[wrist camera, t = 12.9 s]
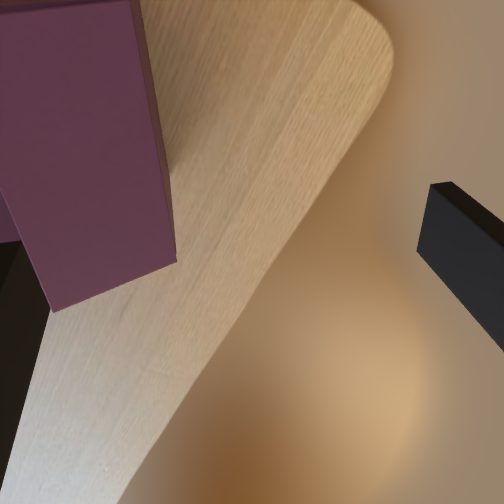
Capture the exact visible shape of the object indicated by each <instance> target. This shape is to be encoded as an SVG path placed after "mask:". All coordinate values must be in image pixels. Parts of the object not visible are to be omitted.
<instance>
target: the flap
mask: <svg viewBox="0 0 504 504" xmlns="http://www.w3.org/2000/svg"><path fill="white" fill-rule="evenodd" d="M0 190H1V192H2V195H3V197H4V199H5V202H6V204H7V206H8V209H9V211H10V213H11V216H12V218H13V220H14V223H15V225H16V227H17V230H18V232H19V235H20V237H21V239H22V242H23V244H24V246H25V249H26V251H27V253H28V256H29V258H30V260H31V263H32V265H33V267H34V270H35V272H36V274H37V277H38V279H39V281H40V284H41V286H42V288H43V291H44V293H45V295H46V298H47V300H48V302H49V305H50V307H51V309H52V312H53V313H55V312H57V311H60V310H62V309H65V308H67V307H69V306H72V305H74V304H77V303H79V302H82V301H84V300H86V299H89V298H91V297H94V296H96V295H98V294H101V293H103V292H106V291H108V290H110V289H113V288H115V287H118V286H120V285H122V284H125V283H127V282H130V281H132V280H134V279H137V278H139V277H142V276H144V275H147V274H149V273H151V272H154V271H156V270H159V269H161V268H163V267H166V266H168V265H171V264H173V263H175V262H177V259H176V253H175V248H174V242H173V237H172V231H171V226H170V221H169V215H168V210H167V204H166V199H165V193H164V188H163V183H162V177H161V172H160V166H159V161H158V155H157V150H156V145H155V139H154V134H153V128H152V123H151V117H150V112H149V107H148V101H147V96H146V90H145V85H144V79H143V74H142V69H141V63H140V58H139V52H138V47H137V41H136V36H135V31H134V25H133V20H132V14H131V9H130V3H129V0H114V1H105V2H96V3H88V4H79V5H70V6H62V7H53V8H44V9H36V10H27V11H18V12H10V13H1V14H0Z"/></svg>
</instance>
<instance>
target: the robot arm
mask: <svg viewBox="0 0 504 504" xmlns="http://www.w3.org/2000/svg"><path fill="white" fill-rule="evenodd" d="M417 252H418V253H419V254H420V256H421V257H422V258H423V259H424V260H425V261H426V263H427V264H428V265H429V266H430V267H431V268H432V270H433V271H434V272H435V273H436V274H437V275H438V276H439V278H440V279H441V280H442V281H443V282H444V283H445V284H446V285H447V287H448V288H449V289H450V290H451V291H452V293H453V294H454V295H455V296H456V297H457V298H458V299H459V301H460V302H461V303H462V304H463V305H464V306H465V308H466V309H467V310H468V311H469V312H470V313H471V314H472V316H473V317H474V318H475V319H476V320H477V321H478V323H479V324H480V325H481V326H482V327H483V328H484V330H486V332H487V333H488V334H489V335H490V336H491V338H492V339H493V340H494V341H495V342H496V343H497V345H498V346H499V347H500V348H501V349H502V350H503V351H504V222H502V221H501V220H500V219H498V218H497V217H496V216H495V215H493V214H492V213H491V212H490V211H488V210H487V209H486V208H485V207H483V206H482V205H481V204H480V203H478V202H477V201H476V200H474V199H473V198H472V197H471V196H469V195H468V194H467V193H465V192H464V191H463V190H462V189H461V188H459V187H458V186H456V185H455V184H454V183H453V182H444V183H436V184H431V185H430V189H429V194H428V198H427V203H426V208H425V213H424V218H423V223H422V227H421V232H420V236H419V241H418V246H417ZM50 309H51V308H50V306H49V303H48V301H47V299H46V296H45V294H44V292H43V289H42V287H41V285H40V282H39V280H38V278H37V275H36V273H35V271H34V268H33V266H32V263H31V261H30V259H29V256H28V254H27V252H26V249H25V247H24V245H23V242H22V240H19V241H12V242H4V243H0V490H1V487H2V483H3V479H4V476H5V472H6V469H7V465H8V461H9V458H10V454H11V450H12V447H13V443H14V439H15V436H16V432H17V429H18V425H19V421H20V418H21V414H22V410H23V407H24V403H25V399H26V396H27V392H28V389H29V385H30V381H31V378H32V374H33V370H34V367H35V363H36V360H37V356H38V352H39V349H40V345H41V341H42V338H43V334H44V330H45V327H46V323H47V320H48V316H49V312H50Z"/></svg>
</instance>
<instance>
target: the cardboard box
mask: <svg viewBox="0 0 504 504" xmlns="http://www.w3.org/2000/svg"><path fill="white" fill-rule="evenodd" d="M105 1H114V0H0V14H1V13H10V12H18V11H27V10H36V9H44V8H53V7H62V6H70V5H79V4H88V3H96V2H105ZM129 3H130V9H131V14H132V20H133V25H134V31H135V36H136V41H137V47H138V52H139V58H140V63H141V69H142V74H143V79H144V85H145V90H146V96H147V101H148V107H149V112H150V117H151V123H152V128H153V134H154V139H155V145H156V150H157V155H158V161H159V166H160V172H161V177H162V183H163V188H164V193H165V199H166V204H167V210H168V215H169V221H170V226H171V231H172V237H173V242H174V248H175V253H176V243H175V231H174V220H173V209H172V198H171V187H170V176H169V170H168V164H167V159H166V153H165V147H164V141H163V135H162V130H161V124H160V118H159V112H158V106H157V100H156V95H155V89H154V83H153V77H152V71H151V66H150V60H149V54H148V48H147V42H146V37H145V31H144V25H143V19H142V13H141V8H140V2H139V0H129ZM19 240H22V239H21V237H20V235H19V232H18V230H17V227H16V225H15V223H14V220H13V218H12V216H11V213H10V211H9V209H8V206H7V204H6V202H5V199H4V197H3V195H2V192H1V190H0V243H4V242H12V241H19ZM23 245H24V244H23ZM24 247H25V246H24ZM26 252H27V251H26ZM27 254H28V253H27ZM29 259H30V258H29ZM30 261H31V260H30ZM32 266H33V265H32ZM33 268H34V267H33ZM34 271H35V270H34ZM35 273H36V272H35ZM36 275H37V274H36ZM37 278H38V277H37ZM38 280H39V279H38ZM39 282H40V281H39Z"/></svg>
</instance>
